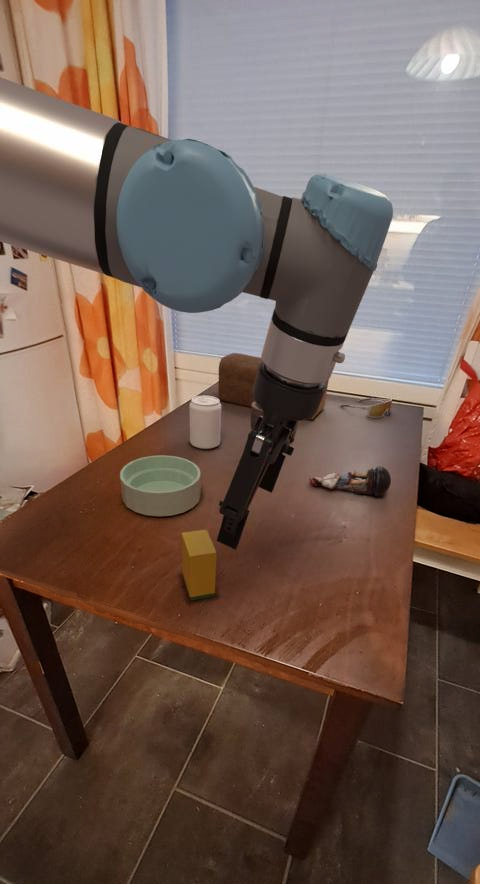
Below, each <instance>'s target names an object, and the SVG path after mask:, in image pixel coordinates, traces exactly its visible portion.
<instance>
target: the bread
mask: <svg viewBox="0 0 480 884" xmlns="http://www.w3.org/2000/svg"><path fill="white" fill-rule="evenodd" d="M261 362H262V357H261V356H253V355H248V354H244V353H239V352H238V353H237V352H232V353H229V354H226V355H225V356H223V357H222V358H221V359H220V360H219V363H218V382H217V383H218V384H217V385H218V393H217V394H218V395H217V398H218V399H219V400H220V401H223V402H226V403H231V404H237V405H240V406H245V407H249V408H251V405H252V403H253V402H254V401H255V400H254V398H253V395H252V390H253V386H254V382H255V378H256V375H257V371H258V367H259V364H260V363H261ZM329 381H330V379H329V380H327V381H326V383H327V388H326V391H325V393H324V396H323V398H322V400H321V403H320V405H319V408H318V410H317V412H316V414H315V415H314V416H313V417H311V418H309V419H308V420H311V421H312V420H314V418H315V417H316V416H317V415H318V414H319V413H320V412H321V411H322V410H323V409H324V408H325V404H326V400H327V393H328V386H329Z"/></svg>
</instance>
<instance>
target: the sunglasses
mask: <svg viewBox="0 0 480 884" xmlns="http://www.w3.org/2000/svg"><path fill="white" fill-rule="evenodd" d="M365 401H380V402H378V403H376V404H372V405H365V406H364V405H352V404H341V405H340V407H341V408H351V409H361V410H367V417H368V418H372V419H373V418H374V419H379V418H382V417H383V416H385V415H386V416H388V415H389V412H390V410H391V408H392V404H393V399H392V398H390V399H387V398H375V397H366V398H361V399H358V400H357V403H359V402H360V403H361V402H365ZM381 401H382V402H381Z"/></svg>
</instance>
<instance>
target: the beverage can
mask: <svg viewBox="0 0 480 884" xmlns="http://www.w3.org/2000/svg"><path fill="white" fill-rule="evenodd" d="M221 428H222V404H221V400H219V399H218V397H216V396H213V395H196V396H193V397H192V398H191V401H190V403H189V443H190V444H191V446H193V447H195V448H197V449H201V450H210V449H211V450H212V449H214V448H217V447H218V446H220V444H221V431H222V429H221Z"/></svg>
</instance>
